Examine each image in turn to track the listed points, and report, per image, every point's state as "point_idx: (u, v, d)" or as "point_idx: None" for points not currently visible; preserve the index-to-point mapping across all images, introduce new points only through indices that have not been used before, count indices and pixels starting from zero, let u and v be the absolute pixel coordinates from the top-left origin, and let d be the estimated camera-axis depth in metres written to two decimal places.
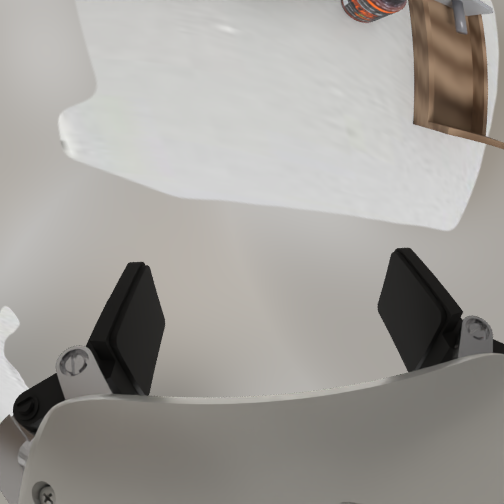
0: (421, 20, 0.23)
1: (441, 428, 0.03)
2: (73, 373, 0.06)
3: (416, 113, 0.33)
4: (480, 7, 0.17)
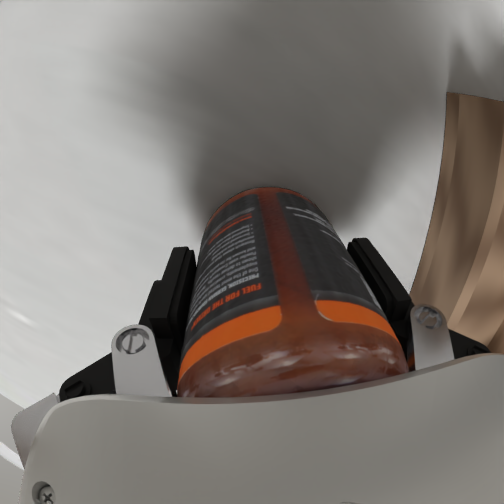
0: (453, 274, 0.11)
1: (441, 428, 0.03)
2: (129, 351, 0.06)
3: None
4: None
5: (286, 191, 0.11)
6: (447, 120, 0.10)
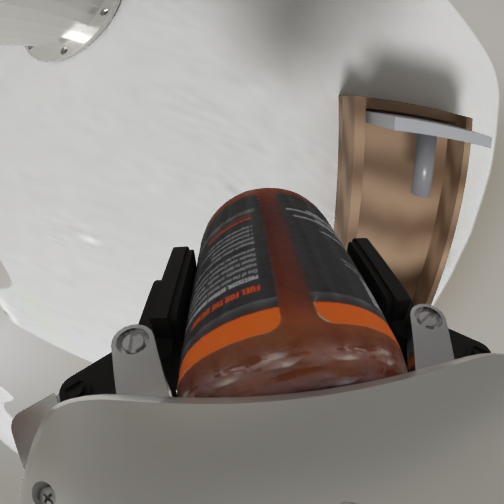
0: (347, 188, 0.24)
1: (441, 428, 0.03)
2: (129, 351, 0.06)
3: None
4: None
5: (286, 192, 0.11)
6: (339, 110, 0.23)
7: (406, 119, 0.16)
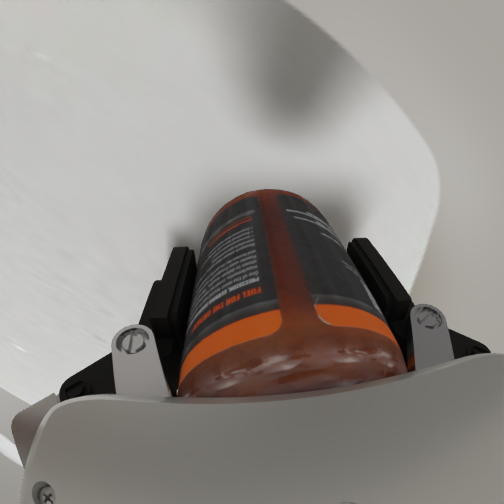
0: None
1: (441, 428, 0.03)
2: (129, 351, 0.06)
3: None
4: None
5: (286, 193, 0.11)
6: None
7: None
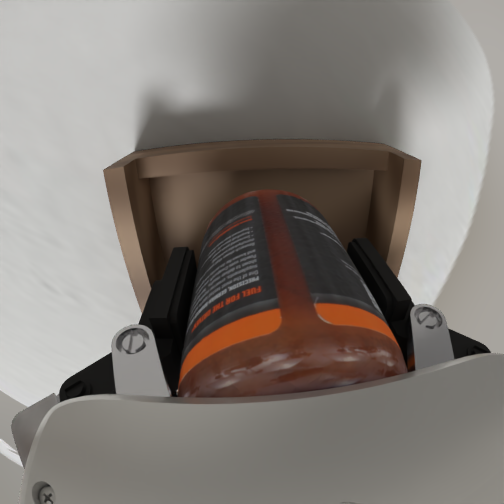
0: None
1: (441, 428, 0.03)
2: (129, 351, 0.06)
3: None
4: None
5: (286, 193, 0.11)
6: None
7: None
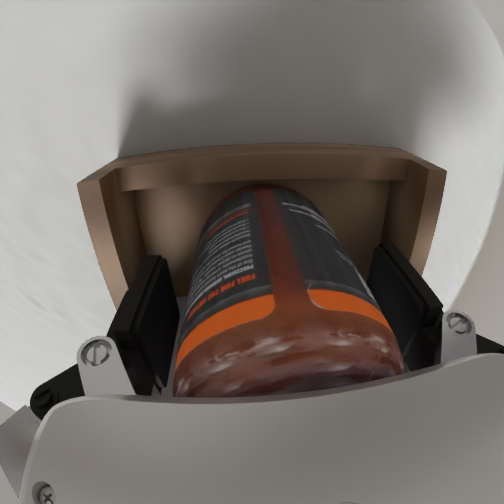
0: None
1: (441, 428, 0.03)
2: (94, 363, 0.06)
3: None
4: None
5: (282, 188, 0.11)
6: None
7: None
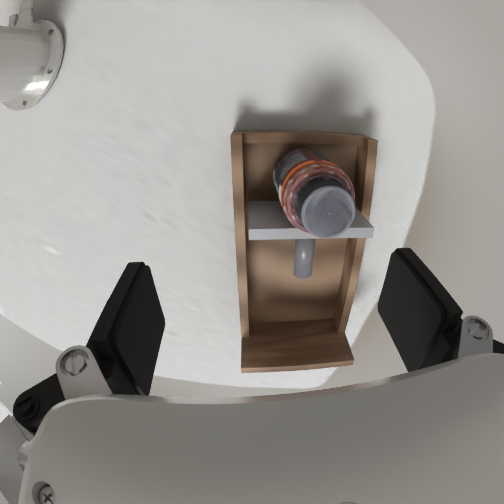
0: None
1: (441, 428, 0.03)
2: (73, 373, 0.06)
3: None
4: None
5: (309, 148, 0.26)
6: None
7: (260, 229, 0.24)
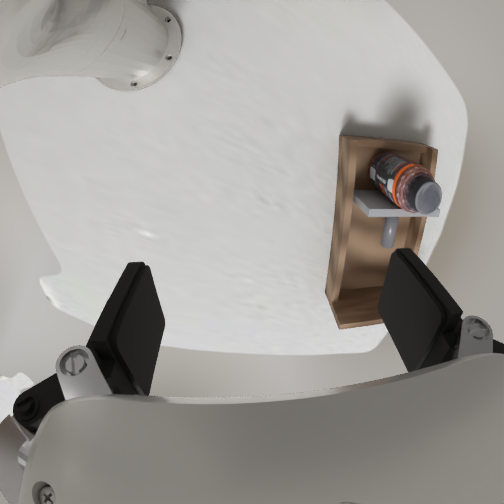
0: (342, 201, 0.36)
1: (441, 428, 0.03)
2: (73, 373, 0.06)
3: (327, 286, 0.46)
4: None
5: (393, 152, 0.33)
6: (339, 146, 0.35)
7: (376, 209, 0.31)
